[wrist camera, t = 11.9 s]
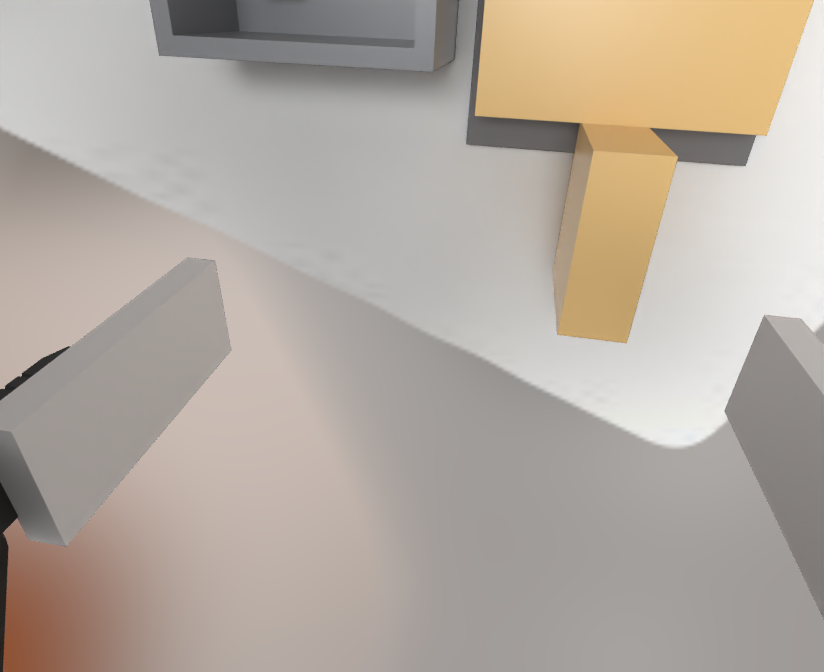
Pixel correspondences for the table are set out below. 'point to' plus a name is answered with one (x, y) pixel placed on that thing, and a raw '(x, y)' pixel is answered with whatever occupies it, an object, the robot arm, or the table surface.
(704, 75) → the amber lid
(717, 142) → the grey rubber mat
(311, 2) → the charcoal tub
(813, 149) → the table surface
